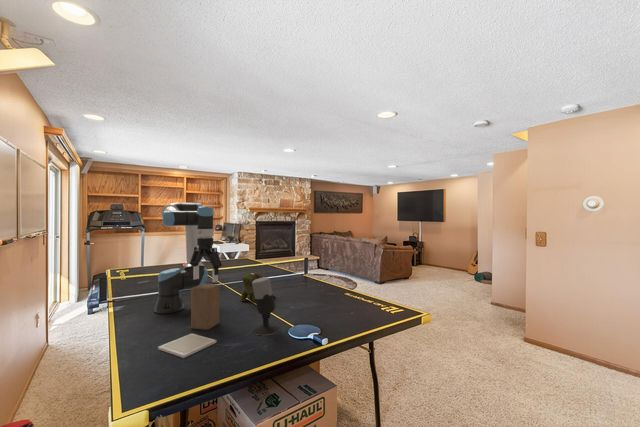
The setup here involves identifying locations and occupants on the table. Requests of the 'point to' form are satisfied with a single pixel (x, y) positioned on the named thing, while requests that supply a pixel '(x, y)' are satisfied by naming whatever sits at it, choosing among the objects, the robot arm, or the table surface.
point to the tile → (187, 345)
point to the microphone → (264, 306)
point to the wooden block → (204, 306)
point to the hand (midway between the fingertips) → (205, 280)
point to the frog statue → (249, 285)
